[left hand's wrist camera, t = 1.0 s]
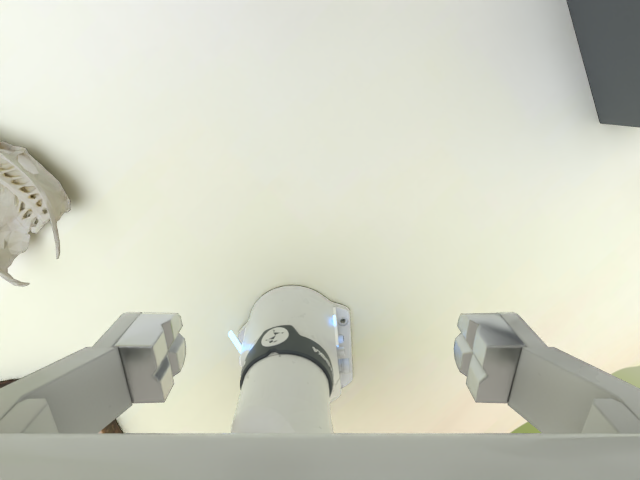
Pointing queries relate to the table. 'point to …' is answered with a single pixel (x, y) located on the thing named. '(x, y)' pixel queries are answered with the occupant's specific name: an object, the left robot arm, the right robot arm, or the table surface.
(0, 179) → the anatomical model
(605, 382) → the left robot arm
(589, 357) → the table surface
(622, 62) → the box
